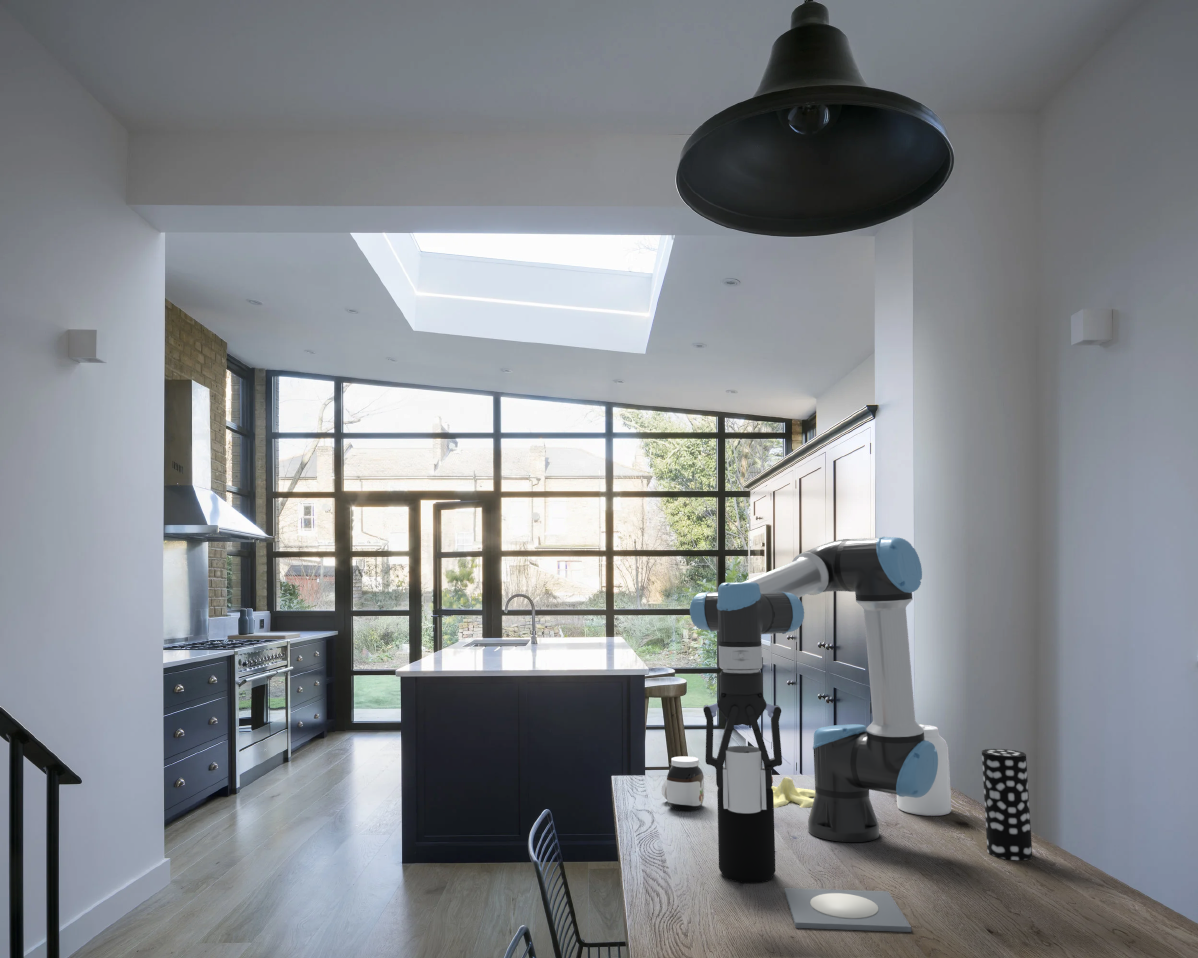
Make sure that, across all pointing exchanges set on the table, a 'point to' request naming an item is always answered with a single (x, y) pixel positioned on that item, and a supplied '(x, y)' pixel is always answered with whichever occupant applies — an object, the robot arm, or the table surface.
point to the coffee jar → (746, 842)
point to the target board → (845, 910)
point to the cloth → (792, 794)
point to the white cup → (744, 778)
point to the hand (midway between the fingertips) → (744, 806)
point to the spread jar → (684, 784)
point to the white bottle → (939, 794)
